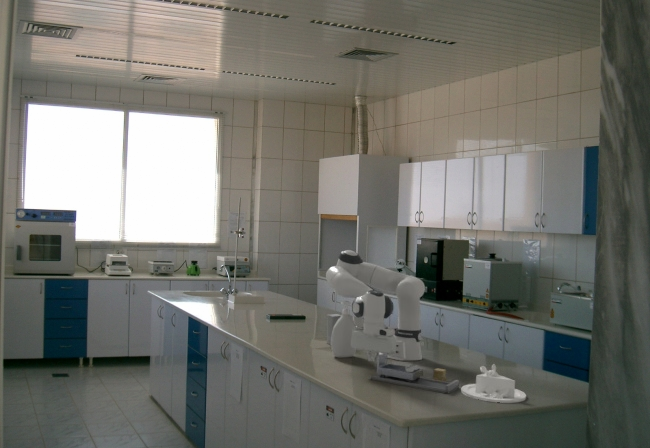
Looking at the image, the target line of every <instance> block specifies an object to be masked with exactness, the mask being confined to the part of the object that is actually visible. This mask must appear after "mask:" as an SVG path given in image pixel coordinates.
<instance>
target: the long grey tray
mask: <svg viewBox="0 0 650 448" xmlns="http://www.w3.org/2000/svg"><path fill="white" fill-rule="evenodd" d="M405 367H407V366H405V365H399V364H394V363H388V358H387V353H385V354H382V355H379V356H377V357H376V375H379V374H381V375H380V377H381V378H385V375H387V376H392V377H398V378H403V379H408V380H407V382H409V383H412V380H418V379H419V378H420V377H421V378H422V377H423V376H424V374H423V373H424V369H422V368H418V371H416V372H414V373H410V372H405Z"/></svg>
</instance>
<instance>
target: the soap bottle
mask: <svg viewBox="0 0 650 448" xmlns="http://www.w3.org/2000/svg"><path fill="white" fill-rule="evenodd" d="M340 304H341V305H342V306H344V308H342V310H341V311H342V312H341V315H342V316H341V317H340V318H339V319H338V320H337V322H336V324H335V325H334V327H333V331H332V336H331V345H330V348H331V349H330V350H331V352H332V354H333V356H334V357H335V358H337V359H338V358H341V359H342V358H344V359H345V358H352V357H354V356H355V354H356V352H357V350H358V349H356V348H352V347H351V338H352V329H353V328H354V327H357V324H356V322H355V321H354V320H353V318H352V317H351V315H350V314H351V310H350V308H348V306H352V303H351V302H350V301H349V300H344V301H340ZM354 329H355V328H354Z"/></svg>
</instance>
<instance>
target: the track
mask: <svg viewBox="0 0 650 448" xmlns="http://www.w3.org/2000/svg"><path fill="white" fill-rule="evenodd" d="M380 375H381V374H376V375H370V380H372V381H378V382H383V383H388V384H395V385H400V386H404V387H410V388H416V389H420V390H426V391H431V390H432V391H431V392H438V393H442V394H448V395H449V394H450V393H452V392H454V391H456V390H457V389H460V383H459V382H460V380H459V379H454V380H453V381H451V382H447V381H438V380H433V378H432V379H430V378H425V377H422V376H421V377H420V378H419V379H418V380H412V383H409V382H407V380H408V379H403V378H398V377H392V376H387V375H385V378H381V377H380Z"/></svg>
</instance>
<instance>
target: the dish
mask: <svg viewBox="0 0 650 448" xmlns="http://www.w3.org/2000/svg"><path fill="white" fill-rule="evenodd" d="M479 370H480V372H481V374H476V375H475V383H468V384H464V385H463V386H462V387H460V391H461V394H463V395H464V396H466V397H469V398H471V399H474V400H478V399H479V400H478V401H484V402H491V403H497V402H500V404H501V403H502V404H512V403H513V404H514V403H520V402H524V401H526V399H527V395H526V393H525V392H524V391H521V390H520V389H517V388H515V387H516V380H515V379H514V380H513V379H511V378H509V377H507V376H503V375H501V374H499V373H498V372H497V371H496V370H497V367H496V364H495V363H493V364H492V365H491V369H489V370H488V369H487V368H486V366H484V365H481V366H480V367H479Z"/></svg>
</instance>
